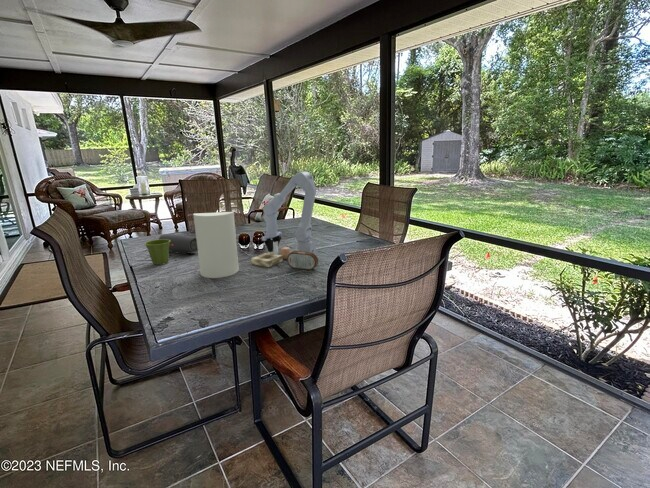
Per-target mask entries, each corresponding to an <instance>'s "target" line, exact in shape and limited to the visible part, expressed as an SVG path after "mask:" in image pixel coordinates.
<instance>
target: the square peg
mask: <svg viewBox="0 0 650 488" xmlns="http://www.w3.org/2000/svg"><path fill="white" fill-rule="evenodd" d="M267 253H271V254H277V255H280V254H279V246H278V241H273V244H272V252H268V251H267Z"/></svg>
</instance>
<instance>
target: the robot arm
mask: <svg viewBox="0 0 650 488" xmlns="http://www.w3.org/2000/svg"><path fill="white" fill-rule="evenodd" d="M314 181H315V180H314V176H313V175H312V174H311V172H309V171H302V172H296V173H295V174H294V175H293V176H292V177H291V178H290V180H289V181H288V182H287V184H286V185H285V186H284V188H283V189H282V190H281V192H280V193H279V192H278V193H275V194H274V195H273V197H272V198H271V200H269V201H268V204H265V205H264V206H263V210H262V211H263V213H264V215H265V225H266V226H265V227H266V229H265V230H266V233H265V235H264V236H261V241H263V243H264V244H265V246H266V248H267V253H268V252H272V244H273V241H278V247H279V245H280V242H281V240H282V236H283V231H278V220H277V214H278V213H279V209H280V208H281V207H282V205H284V203H285V202H286V197H287V196H288V195H289V194H290V193H291V192H292V191H293V190H294V189H295V188H296V187H299V188H301V189H302V190H303V191H304V199H303V203H302V204H303V206H302V209H301V210H302V211H301V215H300V216H301V217H300V222H299V224H298V225H297V229H296V231H295V233H294V238H295V240H296V245H297V246H296V248H297V249H296V251H303V252H312V253H314V254H315V255H316V256H317V257H318V255H317V245H316V242H315V241H312V239H311V237H312V235H313V230H312V228H313V227H312V226H313V225H312V224H311V223H312V216H313V211H314V205H315V201H316V200H315V198H316V193H317V187H316V184H315V182H314Z"/></svg>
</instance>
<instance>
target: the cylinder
mask: <svg viewBox="0 0 650 488" xmlns="http://www.w3.org/2000/svg"><path fill="white" fill-rule="evenodd" d="M192 215H193V222H194V223H193V225H194V230H195V231H194V232H195V238H196V240H197V248H198V251H197V253H198V263H199V271H200V275H201V277H203V278H210V279H219V278H227V277H229V276H233V275H235V274H237V273H238V272H239V271H240V267H239V266H240V265H239V258H238V255H239V254H238V245H237V237H236V236H237V235H236V233H237V232H236V223H235V213H234V211H222V212H221V211H219V212H201V213H200V212H199V213H193V214H192Z"/></svg>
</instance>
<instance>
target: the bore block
mask: <svg viewBox="0 0 650 488" xmlns="http://www.w3.org/2000/svg"><path fill="white" fill-rule="evenodd" d="M250 260H251V264H252V265H256V266H261V267H265V268H270V267H273V266H276V265H277V264H280V263H282V262H283V261H284V259H283V255H281V254H271V253H268V252H264V253H260V254H259V255H257V256H254V257H253V256H252V257H251V259H250Z"/></svg>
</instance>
